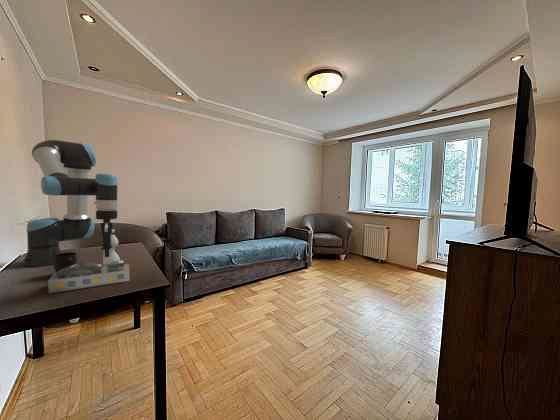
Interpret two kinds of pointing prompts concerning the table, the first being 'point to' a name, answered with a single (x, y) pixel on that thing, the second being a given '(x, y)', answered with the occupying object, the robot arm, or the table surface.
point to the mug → (64, 260)
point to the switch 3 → (115, 264)
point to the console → (88, 279)
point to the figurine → (113, 254)
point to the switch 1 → (67, 270)
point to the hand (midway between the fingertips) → (107, 263)
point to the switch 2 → (92, 267)
